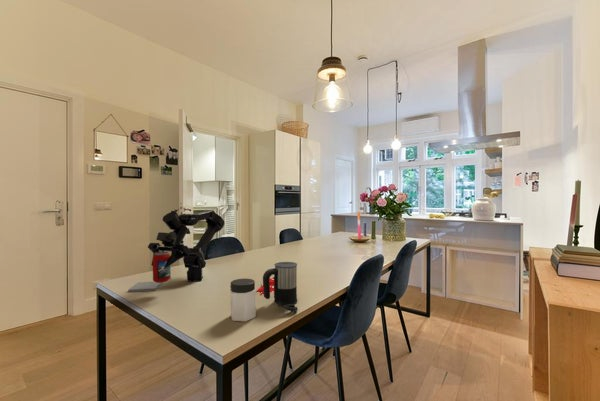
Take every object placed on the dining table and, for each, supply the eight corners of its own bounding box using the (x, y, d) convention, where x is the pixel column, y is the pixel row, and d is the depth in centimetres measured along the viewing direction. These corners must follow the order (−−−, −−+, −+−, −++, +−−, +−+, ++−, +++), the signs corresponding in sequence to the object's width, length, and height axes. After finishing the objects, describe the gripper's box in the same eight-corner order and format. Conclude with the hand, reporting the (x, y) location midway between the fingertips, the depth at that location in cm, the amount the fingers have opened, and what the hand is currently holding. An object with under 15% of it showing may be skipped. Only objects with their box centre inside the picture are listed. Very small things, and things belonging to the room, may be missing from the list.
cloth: (271, 298, 116) (271, 293, 116) (242, 295, 120) (241, 289, 120) (294, 281, 140) (294, 276, 140) (269, 278, 145) (269, 274, 145)
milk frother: (287, 295, 117) (286, 260, 117) (315, 306, 106) (314, 266, 106) (259, 305, 108) (258, 266, 107) (286, 317, 96) (286, 274, 96)
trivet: (162, 282, 136) (162, 280, 136) (155, 290, 125) (155, 288, 125) (138, 284, 134) (137, 282, 134) (128, 292, 123) (128, 289, 123)
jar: (245, 309, 103) (245, 276, 103) (260, 315, 98) (260, 280, 98) (224, 317, 97) (224, 282, 96) (239, 324, 91) (239, 287, 91)
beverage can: (163, 283, 116) (163, 254, 115) (149, 283, 117) (148, 254, 117) (174, 279, 122) (173, 251, 122) (160, 278, 124) (159, 250, 123)
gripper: (150, 224, 126) (129, 254, 115) (185, 225, 120) (167, 256, 110) (164, 239, 133) (145, 268, 123) (197, 241, 128) (181, 271, 118)
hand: (159, 266), depth 118 cm, fingers closed on beverage can, 7 cm apart
